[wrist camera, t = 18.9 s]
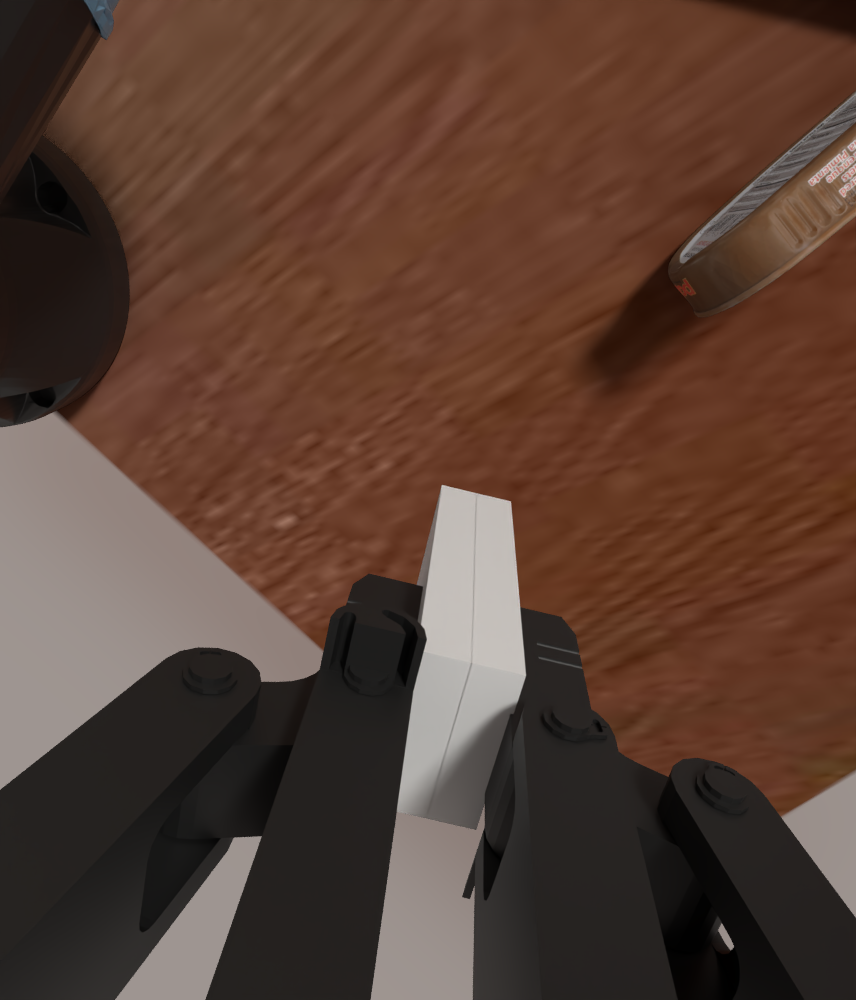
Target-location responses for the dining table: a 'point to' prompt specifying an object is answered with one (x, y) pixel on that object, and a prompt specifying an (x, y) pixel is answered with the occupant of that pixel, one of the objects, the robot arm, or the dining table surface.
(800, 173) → the tin
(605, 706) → the dining table surface
